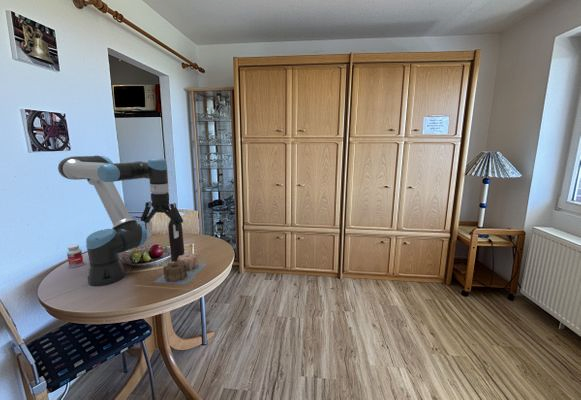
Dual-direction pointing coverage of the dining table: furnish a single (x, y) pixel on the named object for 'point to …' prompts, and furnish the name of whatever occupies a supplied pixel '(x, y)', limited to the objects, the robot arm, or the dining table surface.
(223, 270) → the dining table surface
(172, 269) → the gear
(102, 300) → the dining table surface
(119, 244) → the robot arm
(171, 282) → the gear board
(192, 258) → the gear
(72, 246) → the pill bottle
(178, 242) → the wine bottle
